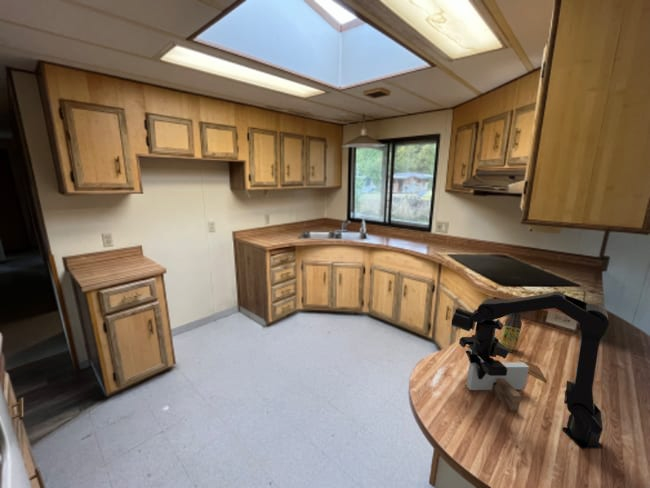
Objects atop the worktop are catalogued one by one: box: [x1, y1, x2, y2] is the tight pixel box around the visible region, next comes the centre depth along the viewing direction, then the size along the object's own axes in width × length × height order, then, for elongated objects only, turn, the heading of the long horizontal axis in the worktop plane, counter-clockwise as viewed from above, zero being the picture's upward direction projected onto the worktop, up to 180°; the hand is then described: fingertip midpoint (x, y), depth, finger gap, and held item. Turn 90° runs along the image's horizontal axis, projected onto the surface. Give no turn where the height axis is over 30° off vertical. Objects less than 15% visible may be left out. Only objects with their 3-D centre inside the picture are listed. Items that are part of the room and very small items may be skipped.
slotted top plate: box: [465, 361, 529, 391], centre depth 99 cm, size 20×2×9 cm, turn 93°
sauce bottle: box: [499, 312, 523, 353], centre depth 124 cm, size 7×6×20 cm
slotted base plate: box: [481, 360, 522, 413], centre depth 100 cm, size 20×2×6 cm, turn 3°
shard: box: [517, 359, 548, 383], centre depth 111 cm, size 11×8×2 cm
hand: (477, 376), depth 99 cm, fingers closed on slotted top plate, 2 cm apart
